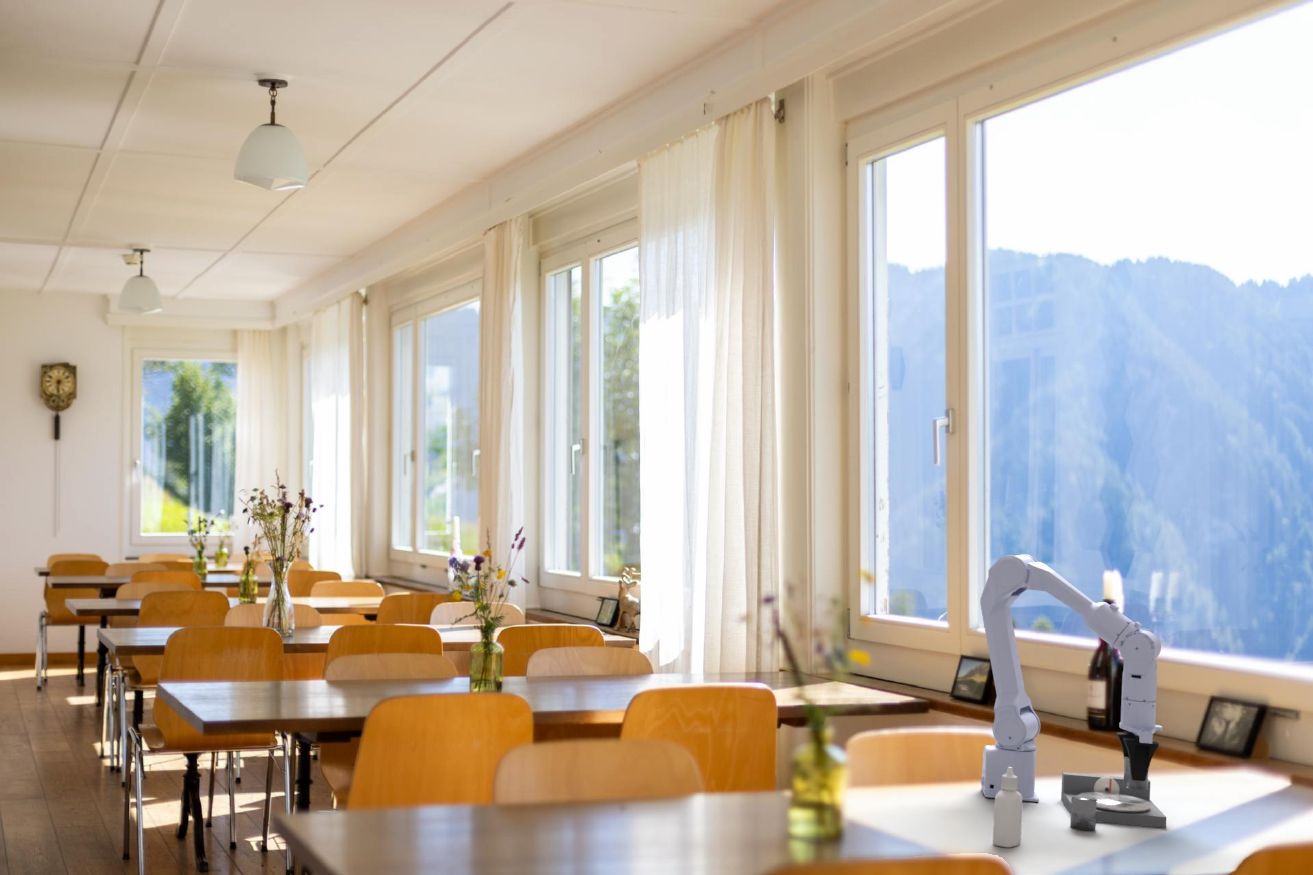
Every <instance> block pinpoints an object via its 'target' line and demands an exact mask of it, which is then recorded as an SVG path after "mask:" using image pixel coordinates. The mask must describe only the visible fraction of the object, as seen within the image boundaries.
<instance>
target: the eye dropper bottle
mask: <svg viewBox="0 0 1313 875" xmlns="http://www.w3.org/2000/svg"><path fill="white" fill-rule="evenodd" d="M1017 781H1018V777H1017V776H1015V775H1014V774H1013V768H1012V767H1008V769H1007V773H1006V774H1004V775H1002V783H1001V788H1002V789H1001V790H1000V791H999V792H998V793H997V795H996V797H995V798H994V809H993V810H994V811H993V829H992V830H993V833H992V844H993V845H994V846H995V847H996V846H997V847H1000V848H1001V847H1002V848H1006V849H1007V848H1013V846H1014V847H1018V846H1019V845H1020V844H1021V842H1022V841H1021V840H1022V820H1023V819H1022V818H1023V817H1022V816H1023V800H1022V795H1021V794H1020V793H1019V792H1018V791H1016V790H1017Z"/></svg>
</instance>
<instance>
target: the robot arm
mask: <svg viewBox="0 0 1313 875" xmlns="http://www.w3.org/2000/svg"><path fill="white" fill-rule="evenodd" d="M1028 590H1031V591H1039V592H1046V593H1048V594H1049V595H1050V596H1052V597H1054V598H1055V599H1057V600H1058V601H1059V602H1061V603H1063V604H1064V605H1065V606H1067V607H1068V608H1070V609H1072V610H1073V611H1074V612H1076V613H1078V614H1079V615H1080V616H1081V617H1083V619H1084V623H1085V628H1087V629H1088V630H1089V631H1091V632H1092V633H1093V634H1095V635H1096V636H1097V637H1098V638H1100V639H1101V640H1103V641H1104V642H1106V643H1107V644H1108V645H1109V646H1111V647H1112V648H1114V649H1115V650H1117V649H1118V650H1119V653H1120V655H1121V657H1122V659H1123V671H1122V680H1121V705H1120V722H1119V725H1118V726H1119V728H1120V729H1122V730H1125V732H1116V736H1117V739H1118V741H1119V743H1120V746H1121V749H1122V755H1123V758H1124V757H1125V756H1129V761H1130V771H1131V777H1132V780H1137V781H1145V780H1146V777H1147V773H1148V774H1149V769H1150V764H1151V762H1152V759H1153V757H1154V754H1155V752H1156V751H1157V750H1158V748H1159V745H1160V743H1159V742H1157V741H1154V740H1153V738H1154V734H1155V733H1156V732H1163V726H1162V725H1159V724H1156V718H1157V695H1158V694H1157V689H1158V674H1157V670H1158V660H1157V658H1158V657H1159V655H1160V653H1161V651H1162V645H1161V640H1160V639H1159V637H1158V636H1157V635H1156V634H1155V633H1154V632H1153V630H1152V629H1148V628H1141V627H1142V623H1140V622H1139V621H1133V620H1132V619H1130V618H1128V616H1126V615H1124V614H1123V613H1122V612H1121V611H1119V609H1120V607H1119V606H1118V605H1117V604H1115V603H1111V604H1109V603H1108V602H1106V601H1101V602H1094V601H1093V600H1092V599H1091V598H1089V597H1088V596H1087V595H1086V594H1084V593H1083V592H1082V591H1080V590H1079V589H1078V588H1077V587H1075V586H1074V585H1073V584H1071V583H1070V582H1069V581H1067V580H1066V578H1064V577H1063V576H1061V575H1060V574H1059V573H1058V572H1056V571H1055V570H1054V569H1052V568H1051V567H1049V566H1048V565H1047V564H1045V563H1043V562H1040V561H1038V560H1037V559H1036V558H1035V557H1033V556H1031V555H1029V554H1024V553H1023V554H1018V555H1012V554H1008V555H1004V556H1003V555H1002V556H1001V557H1000V558H998V559H997V560H996V561H995V562H994V564H993V565H992V566H991V567H990V568H989V569H988V577H987V579H986V582H985V585H984V588H983V591H982V592H981V596H980V600H979V602H980V609H981V614H982V621H983V626H984V627H983V628H984V631H985V638H986V644H987V648H988V649H987V650H988V654H989V655H988V656H989V659H990V665H991V671H992V676H993V677H992V678H993V683H994V686H995V693H996V698H995V703H994V706H993V712H994V720H993V724H992V734H993V737H994V740H995V744H991V745H990V744H987V745H984V746H983V751H982V752H983V753H982V769H981V770H982V771H981V778H980V784H981V786H980V787H981V791H982V792H983V795H984V797H986V798H990V799H993V798H994V799H995V797H996V795H997V793H998V792H999V791H1000V790H1001V789H1002V788H1001V783H1002V775H1004V774H1006V773H1007V769H1008V767H1012V768H1013V774H1014V775H1015V776H1017V777H1018V781H1017V790H1016V791H1018V792H1019V793H1020V794H1021V795H1022V801H1026V802H1036V803H1037V802H1039V801H1040V800H1039V797H1038V795H1037V793H1036V792H1035V785H1036V783H1035V781H1036V763H1037V762H1036V760H1037V745H1036V743H1035V739H1036V738H1037V737H1038V736H1039V734H1040V732H1041V721H1040V718H1039V716H1038V714H1036V712H1035V710H1034V708H1033V706H1032V705H1033V704H1032V701H1031V698H1030V697H1029V695H1028V694H1027V692H1026V689H1025V682H1024V678H1023V672H1022V667H1021V661H1020V657H1019V656H1020V655H1019V650H1018V645H1017V639H1016V633H1015V629H1014V624H1013V617H1012V612H1011V607H1012V605H1013V604H1014V603H1015V601H1016V600H1017V599H1018V598H1019V597H1020V595H1022V594H1023V593H1024V592H1025V591H1028Z"/></svg>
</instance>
